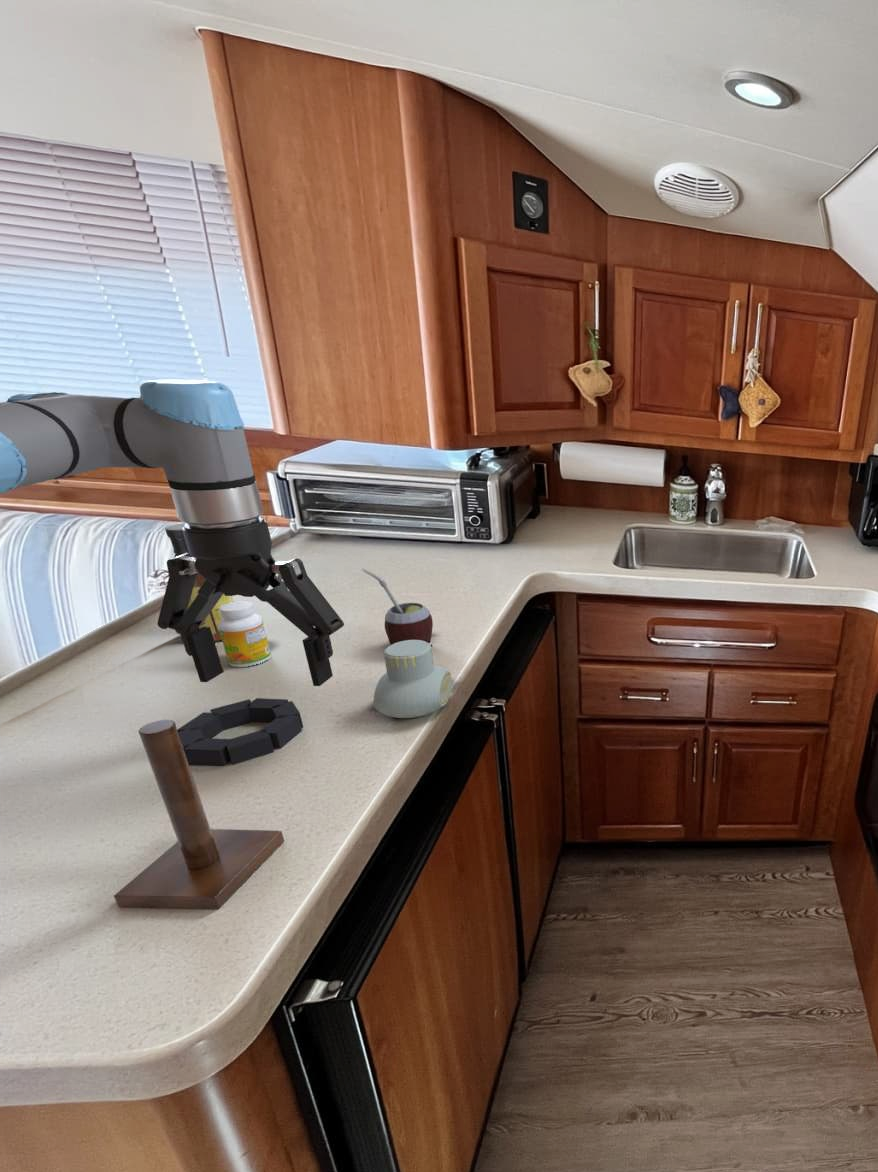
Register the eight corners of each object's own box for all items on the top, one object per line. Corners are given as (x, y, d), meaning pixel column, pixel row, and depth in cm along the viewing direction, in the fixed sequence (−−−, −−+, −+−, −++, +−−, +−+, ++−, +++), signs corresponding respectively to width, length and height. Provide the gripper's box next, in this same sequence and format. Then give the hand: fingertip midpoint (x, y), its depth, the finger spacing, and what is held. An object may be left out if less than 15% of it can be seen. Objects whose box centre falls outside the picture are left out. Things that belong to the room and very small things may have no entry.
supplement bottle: (220, 663, 101) (204, 608, 98) (256, 650, 106) (241, 596, 103) (244, 670, 100) (229, 614, 96) (280, 656, 105) (266, 602, 101)
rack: (118, 907, 60) (52, 754, 54) (196, 839, 68) (148, 699, 62) (219, 909, 61) (166, 757, 54) (284, 841, 69) (245, 702, 63)
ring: (154, 764, 79) (148, 747, 78) (230, 711, 90) (226, 696, 89) (258, 767, 80) (253, 751, 79) (321, 714, 91) (317, 700, 90)
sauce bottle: (242, 625, 114) (213, 518, 106) (243, 638, 110) (213, 528, 102) (192, 633, 110) (159, 522, 102) (191, 647, 105) (156, 532, 98)
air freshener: (438, 725, 91) (429, 664, 87) (373, 730, 89) (360, 667, 85) (456, 687, 101) (448, 630, 97) (397, 690, 98) (387, 632, 95)
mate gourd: (443, 651, 111) (431, 570, 106) (393, 665, 105) (378, 581, 100) (425, 637, 115) (412, 559, 110) (376, 650, 110) (361, 568, 104)
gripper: (355, 517, 78) (384, 668, 86) (139, 506, 76) (189, 661, 84) (315, 534, 71) (351, 697, 79) (76, 522, 70) (138, 690, 77)
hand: (268, 679), depth 82 cm, fingers open, 13 cm apart
